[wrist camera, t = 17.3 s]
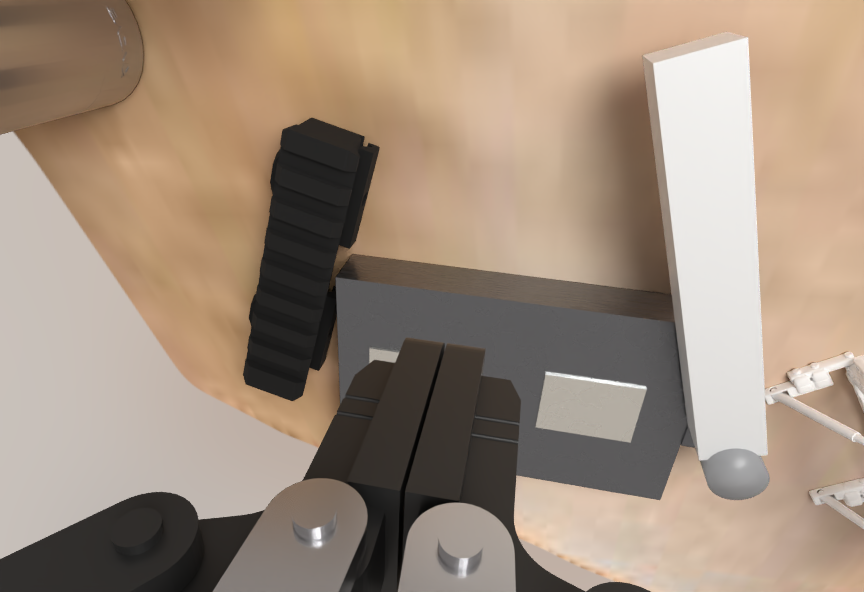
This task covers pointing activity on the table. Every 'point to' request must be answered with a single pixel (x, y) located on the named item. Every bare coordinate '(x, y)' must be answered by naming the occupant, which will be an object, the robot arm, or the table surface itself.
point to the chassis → (538, 361)
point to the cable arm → (713, 251)
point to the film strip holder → (827, 421)
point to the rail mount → (305, 252)
